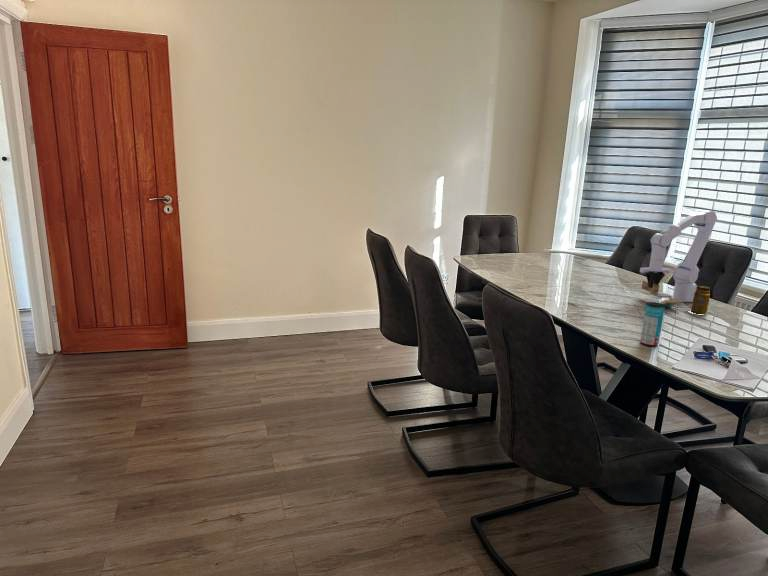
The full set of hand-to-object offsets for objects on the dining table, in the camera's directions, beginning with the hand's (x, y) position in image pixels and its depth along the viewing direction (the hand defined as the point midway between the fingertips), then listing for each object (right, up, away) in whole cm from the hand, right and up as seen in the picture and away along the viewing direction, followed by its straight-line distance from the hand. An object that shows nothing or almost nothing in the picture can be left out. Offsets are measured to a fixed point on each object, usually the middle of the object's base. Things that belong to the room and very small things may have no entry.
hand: (652, 287), depth 251 cm
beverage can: (-32, -21, -61) cm, 72 cm away
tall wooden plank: (0, -3, -2) cm, 3 cm away
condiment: (+12, -12, -15) cm, 23 cm away
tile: (+1, -8, -7) cm, 11 cm away
